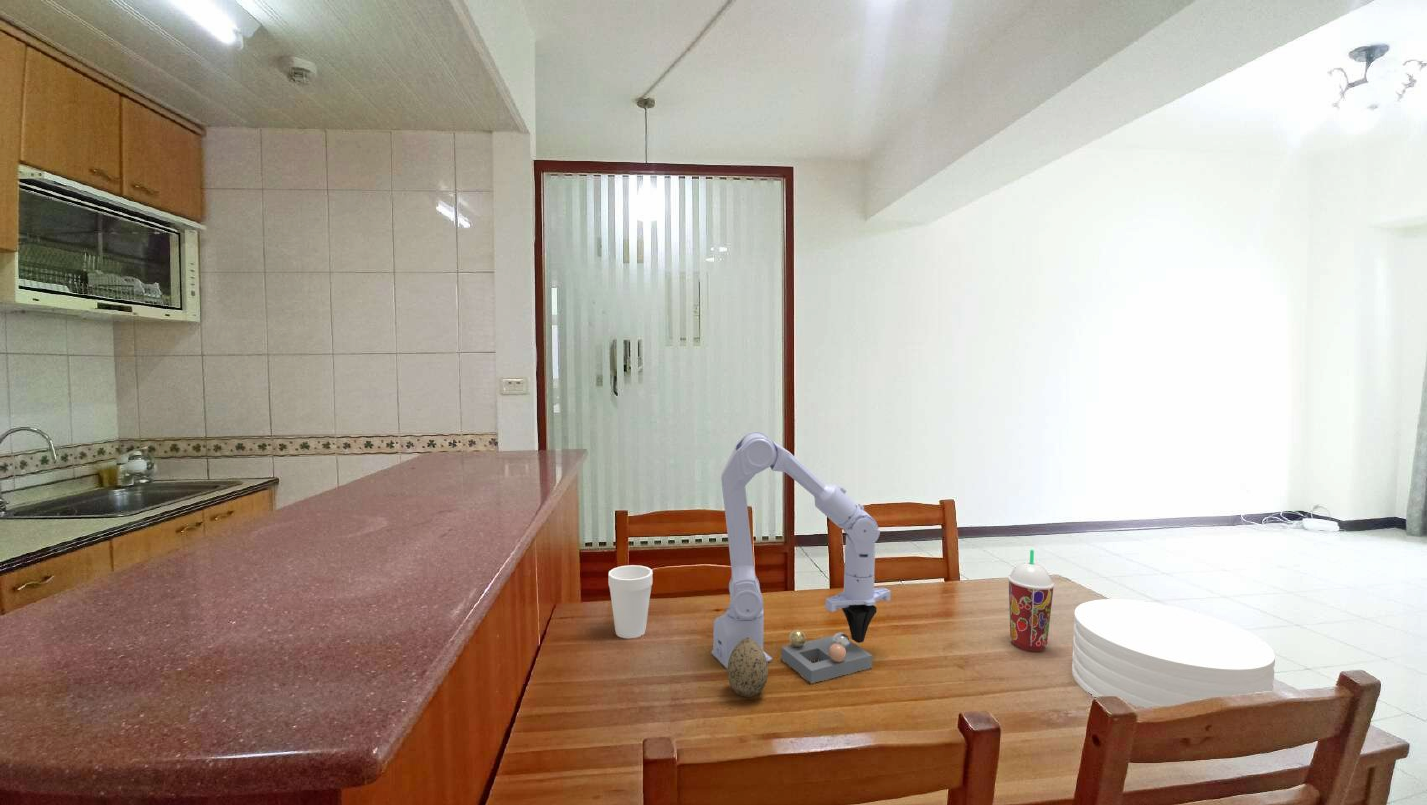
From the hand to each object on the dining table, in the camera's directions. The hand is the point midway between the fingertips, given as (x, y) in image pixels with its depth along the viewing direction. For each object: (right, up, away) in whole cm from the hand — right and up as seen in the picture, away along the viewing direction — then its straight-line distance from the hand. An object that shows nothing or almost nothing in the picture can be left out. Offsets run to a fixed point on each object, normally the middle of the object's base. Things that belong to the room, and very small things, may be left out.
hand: (857, 640), depth 117 cm
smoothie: (+37, -4, +6) cm, 38 cm away
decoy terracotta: (-5, 0, -6) cm, 8 cm away
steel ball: (-4, +1, -2) cm, 4 cm away
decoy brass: (-12, +1, -1) cm, 12 cm away
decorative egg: (-22, -4, -13) cm, 26 cm away
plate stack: (+52, -5, -11) cm, 53 cm away
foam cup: (-46, -3, +11) cm, 47 cm away
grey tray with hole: (-7, -4, -2) cm, 8 cm away
